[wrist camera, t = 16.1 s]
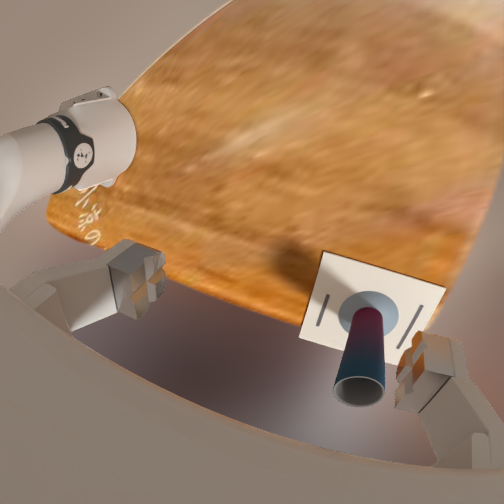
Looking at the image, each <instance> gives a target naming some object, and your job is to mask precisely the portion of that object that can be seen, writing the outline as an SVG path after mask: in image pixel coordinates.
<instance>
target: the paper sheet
mask: <svg viewBox="0 0 504 504" xmlns="http://www.w3.org/2000/svg"><path fill="white" fill-rule="evenodd" d="M445 290H446V288H445V287H442V286H439V285H436V284H433V283H429V282H426V281H423V280H420V279H416V278H413V277H410V276H407V275H403V274H400V273H397V272H393V271H390V270H387V269H383V268H380V267H377V266H373V265H370V264H367V263H363V262H360V261H357V260H353V259H350V258H346V257H343V256H340V255H336V254H333V253H329V252H326V251H324V253H323V257H322V261H321V264H320V268H319V271H318V275H317V278H316V282H315V285H314V289H313V292H312V296H311V299H310V302H309V306H308V309H307V312H306V315H305V319H304V322H303V325H302V328H301V332H300V335H299V338H302V339H305V340H308V341H312V342H315V343H318V344H322V345H325V346H329V347H332V348H335V349H339V350H343V351H344V349H345V346H346V342H347V338H348V334H349V331H350V327H351V323H352V319H353V315H354V313H355V312H356V311H357V310H359V309H361V308H364V307H372V308H375V309H377V310H378V311H379V312H380V313H381V314H382V317H383V331H384V355H385V362H386V363H390V364H394V365H398V364H399V361H400V358H401V356H402V355H403V353H404V351H405V350H406V349H408V348H410V347H412V338H413V336H414V335H415V333H416V332H417V331H418V330H419V331H423V330H424V328H425V326H426V325H427V323H428V321H429V319H430V318H431V316H432V314H433V312H434V311H435V309H436V307H437V305H438V303H439V301H440V300H441V298H442V296H443V294H444V292H445Z"/></svg>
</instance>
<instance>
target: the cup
mask: <svg viewBox="0 0 504 504" xmlns="http://www.w3.org/2000/svg"><path fill="white" fill-rule="evenodd" d="M333 394H334V397H335V398H336V399H337V400H338V401H339V402H341V403H343V404H345V405H347V406H351V407H368V406H372V405H374V404H376V403H378V402H379V401H381V400H382V398H383V397H384V394H385V355H384V331H383V317H382V314H381V313H380V312H379V311H378V310H377V309H375V308H372V307H364V308H361V309H359V310H357V311H356V312H355V313H354V315H353V319H352V323H351V327H350V331H349V334H348V338H347V342H346V346H345V349H344V353H343V357H342V360H341V364H340V368H339V370H338V374H337V377H336V381H335V384H334V387H333Z"/></svg>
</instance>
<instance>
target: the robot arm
mask: <svg viewBox="0 0 504 504" xmlns="http://www.w3.org/2000/svg"><path fill="white" fill-rule="evenodd" d="M135 150H136V130H135V126H134V122H133V120H132V117H131V115H130V113H129V112H128V110H127V109H126V108H125V106H124V105H122V104H121V103H120V102H119V101H118V99H117V98H116V95H115V93H114V91H113V89H112V88H111V87H110V86H107V87H103V88H101V89H98V90H95V91H92V92H89V93H86V94H84V95H81V96H78V97H76V98H73V99H71V100H68V101H66V102H63V103H62V104H61V106H60V109H59V112H57V113H54V114H52V115H50V116H48V117H47V118H45V119H43V120H41V121H39V122H38V123H37V124H35V125H32V126H29V127H25V128H22V129H19V130H16V131H13V132H10V133H7V134H4V135H2V136H1V137H0V233H1V232H2V231H3V229H4V228H5V227H6V226H7V224H8V223H9V222H10V221H11V220H12V219H13V218H14V217H15V216H16V215H17V214H18V213H19V212H21V211H22V210H24V209H26V208H27V207H29V206H30V205H32V204H34V203H35V202H37V201H39V200H40V199H42V198H44V197H46V196H48V195H50V194H58V193H62V192H65V191H67V190H69V189H70V188H72V187H73V188H75V189H78V190H79V191H81V190H84V189H87V188H90V187H93V186H95V185H98V184H101V185H103V186H105V187H110V186H112V185H113V184H114V182H115V181H116V178H117V176H118V175H119V174H121V173H122V172H124V171H125V170H126V169H127V168H128V167H129V165H130V164H131V162H132V160H133V157H134V154H135ZM164 264H165V254H164V253H163V252H162V251H159V250H156V249H154V248H151V247H148V246H146V245H143V244H140V243H137V242H134V241H132V240H129V239H123V240H122V241H120V242H119V243H118V244H116V245H115V246H113V247H112V248H110V249H109V250H107V251H106V252H105V253H103V254H102V255H100V256H99V257H98V258H96V259H95V260H93V259H87V260H83V261H79V262H74V263H70V264H66V265H61V266H57V267H53V268H48V269H44V270H40V271H36V272H32V273H31V274H30V275H28V276H27V277H26V278H24V279H23V280H21V281H20V282H19V283H17V284H16V285H15V286H13V287H12V288H11V289H9V290H8V289H7V288H6V287H5V286H4V285H2V284H1V283H0V504H504V424H503V422H502V421H501V419H500V418H499V416H498V415H497V413H496V412H495V411H494V409H493V408H492V406H491V405H490V403H489V402H488V401H487V399H486V398H485V397H484V395H483V394H482V392H481V391H480V390H479V388H478V387H477V386H476V384H475V383H474V382H473V381H470V380H469V374H468V369H467V363H466V358H465V353H464V349H463V344H462V342H461V341H460V340H456V339H452V338H448V337H447V338H446V337H442V336H438V335H434V334H430V333H427V332H423V331H419V330H418V331H417V332H416V333H415V335H414V336H413V338H412V347H410V348H408V349H406V350H405V351H404V353H403V355H402V356H401V358H400V361H399V364H398V367H397V372H396V380H397V381H398V383H399V384H400V385H399V386H398V388H397V389H396V391H395V408H396V409H400V410H405V411H409V412H414V413H418V416H419V418H420V421H421V423H422V425H423V427H424V430H425V432H426V434H427V437H428V439H429V441H430V444H431V446H432V449H433V451H434V453H435V456H436V458H437V461H438V462H437V463H435V464H434V465H432V466H431V467H428V466H418V465H409V464H402V463H395V462H389V461H382V460H377V459H371V458H366V457H361V456H356V455H351V454H346V453H342V452H338V451H333V450H329V449H325V448H321V447H318V446H313V445H310V444H306V443H303V442H299V441H296V440H293V439H289V438H286V437H283V436H279V435H276V434H273V433H270V432H267V431H264V430H261V429H258V428H255V427H252V426H249V425H247V424H244V423H241V422H239V421H236V420H234V419H231V418H228V417H226V416H223V415H220V414H218V413H216V412H213V411H211V410H209V409H206V408H204V407H201V406H199V405H197V404H195V403H192V402H190V401H188V400H186V399H184V398H181V397H179V396H177V395H175V394H173V393H171V392H169V391H167V390H165V389H163V388H161V387H159V386H157V385H155V384H153V383H151V382H148V381H147V380H145V379H143V378H141V377H139V376H137V375H135V374H133V373H132V372H130V371H128V370H126V369H124V368H122V367H121V366H119V365H117V364H116V363H114V362H112V361H110V360H109V359H107V358H105V357H103V356H102V355H100V354H99V353H97V352H95V351H94V350H92V349H90V348H89V347H87V346H86V345H84V344H83V343H81V342H80V341H78V340H76V339H75V338H73V336H72V333H71V331H74V330H76V329H78V328H81V327H83V326H86V325H88V324H90V323H93V322H95V321H98V320H100V319H103V318H105V317H107V316H110V315H112V314H115V313H117V311H118V312H120V313H122V314H125V315H127V316H129V317H131V318H134V319H136V320H138V319H139V318H140V317H141V316H142V315H143V314H144V313H145V312H146V311H147V310H148V309H149V302H152V301H156V300H157V299H158V298H159V297H160V296H161V295H162V293H163V290H164V288H165V285H166V274H165V272H164V270H163V269H162V267H163V266H164Z"/></svg>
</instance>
